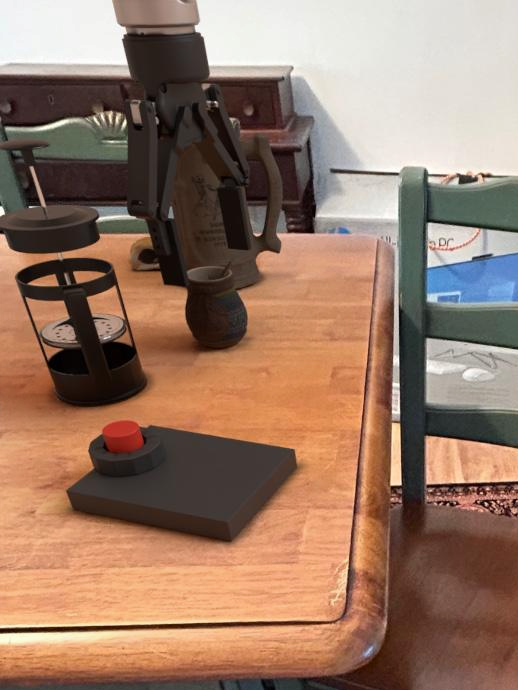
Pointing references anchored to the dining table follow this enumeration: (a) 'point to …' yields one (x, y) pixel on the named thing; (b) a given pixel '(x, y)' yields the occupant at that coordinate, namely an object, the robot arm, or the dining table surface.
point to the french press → (72, 298)
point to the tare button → (122, 436)
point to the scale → (183, 481)
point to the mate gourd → (215, 307)
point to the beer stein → (206, 218)
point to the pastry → (143, 255)
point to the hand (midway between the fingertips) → (210, 266)
